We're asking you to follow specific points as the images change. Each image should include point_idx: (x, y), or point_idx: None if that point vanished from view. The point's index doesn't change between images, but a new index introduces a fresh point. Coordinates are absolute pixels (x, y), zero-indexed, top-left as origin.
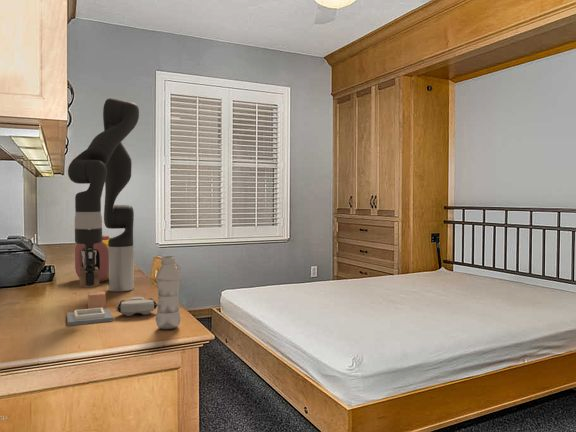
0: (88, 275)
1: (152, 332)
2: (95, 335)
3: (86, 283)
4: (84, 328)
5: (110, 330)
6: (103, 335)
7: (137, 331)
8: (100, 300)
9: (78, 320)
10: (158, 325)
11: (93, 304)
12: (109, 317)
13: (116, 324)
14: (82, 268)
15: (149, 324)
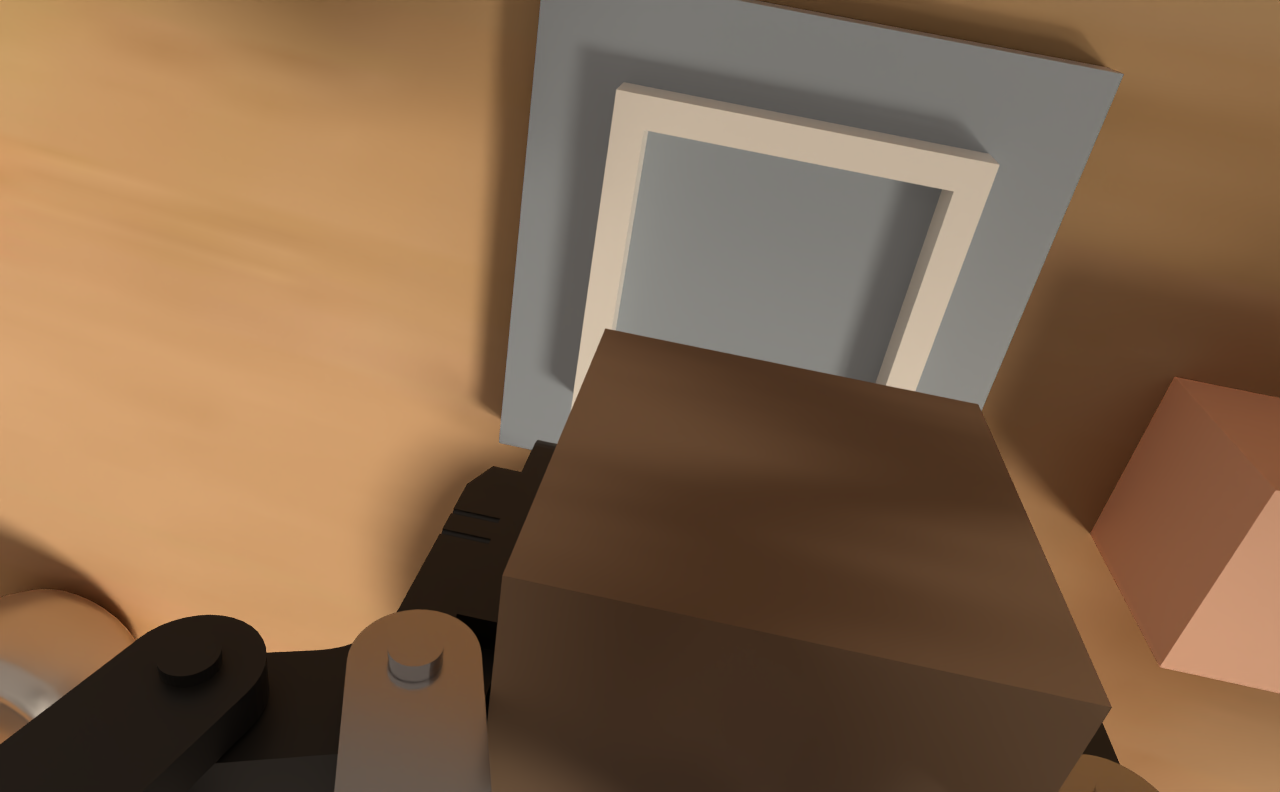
0: (406, 605)
1: (11, 523)
2: (40, 136)
3: (529, 460)
4: (345, 110)
5: (171, 301)
6: (21, 199)
7: (69, 457)
8: (1157, 558)
9: (562, 107)
10: (9, 595)
11: (1180, 460)
12: (515, 418)
13: (361, 406)
14: (887, 729)
15: (246, 591)
